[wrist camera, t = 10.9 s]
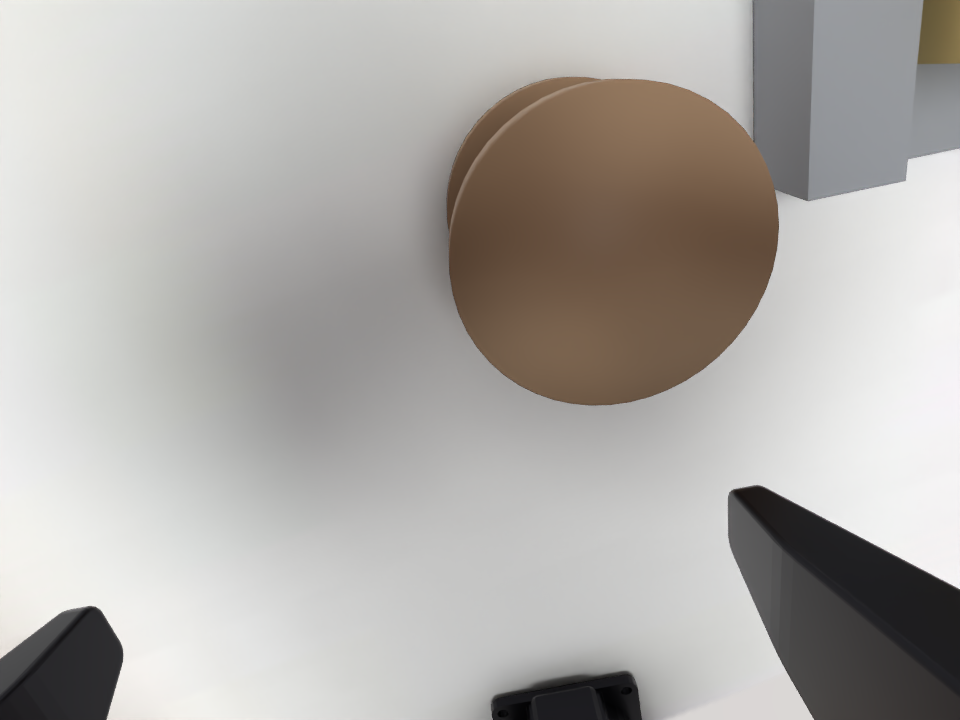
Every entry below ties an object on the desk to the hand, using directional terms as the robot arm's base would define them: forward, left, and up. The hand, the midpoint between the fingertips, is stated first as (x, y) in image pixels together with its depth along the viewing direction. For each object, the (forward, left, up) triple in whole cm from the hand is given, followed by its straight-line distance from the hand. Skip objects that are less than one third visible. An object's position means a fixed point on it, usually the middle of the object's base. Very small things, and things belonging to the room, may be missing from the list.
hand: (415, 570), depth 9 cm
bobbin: (+2, -4, -12) cm, 13 cm away
